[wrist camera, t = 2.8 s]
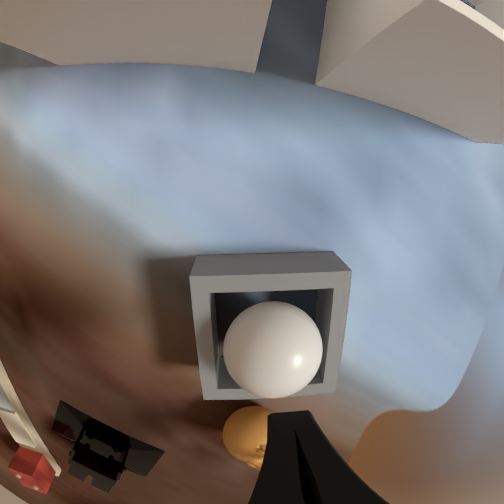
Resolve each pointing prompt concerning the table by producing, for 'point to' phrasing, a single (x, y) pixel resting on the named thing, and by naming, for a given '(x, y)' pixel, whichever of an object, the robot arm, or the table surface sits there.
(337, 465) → the robot arm
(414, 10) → the white brackets
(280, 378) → the white glossy sphere
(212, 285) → the housing
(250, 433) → the figurine
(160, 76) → the table surface
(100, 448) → the black piece
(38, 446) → the space track
